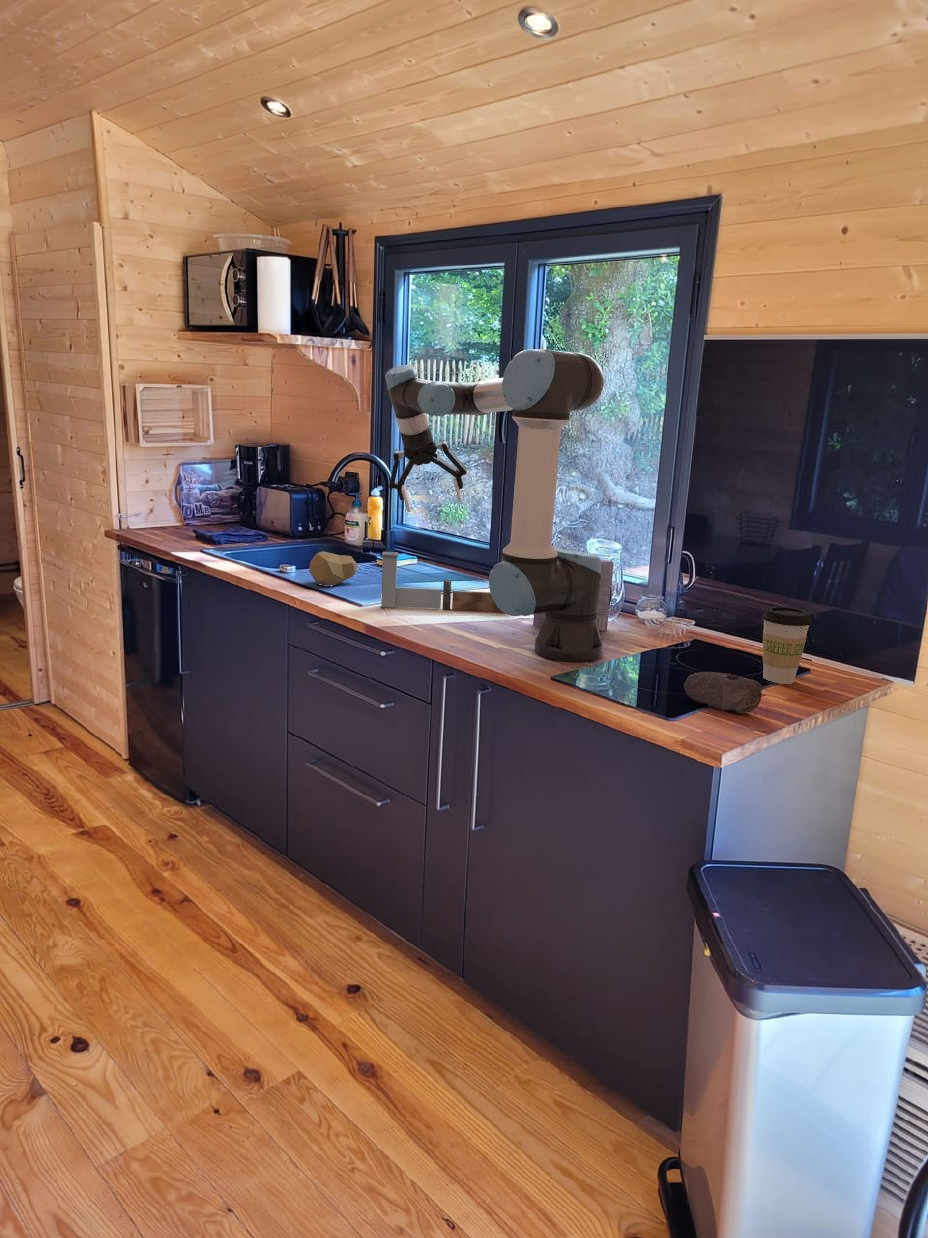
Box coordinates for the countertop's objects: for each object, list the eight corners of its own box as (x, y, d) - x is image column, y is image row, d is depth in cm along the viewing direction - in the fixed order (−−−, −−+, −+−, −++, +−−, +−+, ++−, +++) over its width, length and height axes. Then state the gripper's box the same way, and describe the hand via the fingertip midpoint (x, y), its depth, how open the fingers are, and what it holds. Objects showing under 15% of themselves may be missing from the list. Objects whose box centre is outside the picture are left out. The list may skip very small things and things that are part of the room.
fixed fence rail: (442, 610, 238) (443, 580, 236) (442, 608, 241) (443, 578, 239) (507, 613, 238) (509, 583, 236) (507, 611, 241) (509, 581, 239)
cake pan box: (605, 626, 233) (611, 557, 228) (612, 631, 228) (618, 561, 224) (531, 626, 230) (536, 556, 225) (536, 631, 225) (541, 560, 221)
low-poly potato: (304, 590, 258) (338, 575, 254) (295, 554, 261) (328, 539, 256) (334, 595, 272) (366, 581, 268) (325, 561, 274) (357, 547, 270)
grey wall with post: (440, 606, 242) (442, 554, 238) (440, 609, 238) (442, 557, 234) (381, 603, 241) (382, 551, 238) (380, 607, 238) (381, 554, 234)
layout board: (518, 617, 237) (518, 615, 237) (386, 617, 231) (386, 614, 231) (499, 596, 260) (499, 594, 260) (378, 595, 254) (379, 593, 254)
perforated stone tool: (676, 700, 179) (680, 666, 177) (690, 694, 182) (694, 661, 181) (748, 721, 169) (752, 685, 167) (761, 715, 173) (766, 679, 171)
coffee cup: (776, 689, 188) (786, 618, 185) (744, 675, 197) (752, 606, 193) (813, 685, 192) (823, 615, 188) (780, 671, 201) (789, 604, 197)
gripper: (464, 413, 229) (482, 489, 240) (368, 432, 232) (390, 507, 244) (463, 424, 222) (481, 502, 234) (364, 444, 226) (387, 520, 237)
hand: (435, 505), depth 239 cm, fingers open, 13 cm apart
